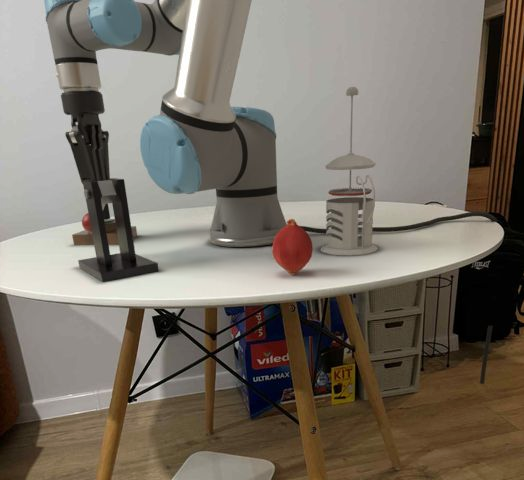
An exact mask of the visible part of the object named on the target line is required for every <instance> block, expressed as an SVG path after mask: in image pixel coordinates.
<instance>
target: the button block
mask: <svg viewBox="0 0 524 480" xmlns="http://www.w3.org/2000/svg"><path fill="white" fill-rule="evenodd" d="M112 219H113V222H109V223H105V227H106V233H107V239H108V245H109V246H119V242H118V236H117V230H116V223H115V218H112ZM131 229H132V235H133V239H134V238H137V237H138V230H137V226H136V225H131ZM71 236H72V242H73V246H94V241H93V236H92V234H91V233H89V232H87V231H86V230H85V229H84V230H81V231H79V232H75V233H73V234H71Z"/></svg>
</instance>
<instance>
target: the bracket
mask: <svg viewBox="0 0 524 480" xmlns="http://www.w3.org/2000/svg"><path fill="white" fill-rule="evenodd" d="M108 180H112V183H113V186H114V189H115V192H116V197H115V199H114V201H113V203H111V204H112V212H113V217H114V219H115V223H116V230H117V236H118V242H119V245H118V248H119V253H114V254H111V250H110V245H108V239H107V233H106V227H105V221H104V215H103V209H102V204H101V198H100V192H99V186H98V182H97V181H89V180H87V181H83V184H82V185H83V195H84V198H85V202H86V207H87V213H88V214H89V219H90V225H91V230H92V236H93V241H94V245H93V246H94V252H95V256H94V257H90V258H83V259H78V261H77V262H78V267H79V269H80V270H82V271H84V272H86V273H87V274H89V275H90V276H92V277H94V278H95V279H97V280H99V281H100V282H102V283H104V282H109V281H114V280H119V279H124V278H130V277H135V276H140V275H146V274H150V273H155V272H159V271H160V270H159V264H158V262H156V261H153V260H151V259H149V258H146V257H144V256H141V255H139V254H137V253H136V250H135V242H134V238H133V235H132V229H131V226H132V224H131V223H132V222H131V216H130V209H129V203H128V195H127V189H126V183H125V179H124V178H117V177H110V179H108Z"/></svg>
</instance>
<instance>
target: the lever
mask: <svg viewBox="0 0 524 480" xmlns="http://www.w3.org/2000/svg"><path fill="white" fill-rule="evenodd" d="M97 182H98V186H99V192H100V198H101V204H102V209H104V207H105V205H106V204H108V205H109V204H112V203H113V201H114V199H115V197H116V192H115V189H114V186H113V183H112V180H107V181H97ZM81 225H82V228H83V229H84V230H86V231H87V232H89V233H91V234H92V230H91V225H90V219H89V214H88V212H87V213H85V214H84V215H83V216H82V219H81Z"/></svg>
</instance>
